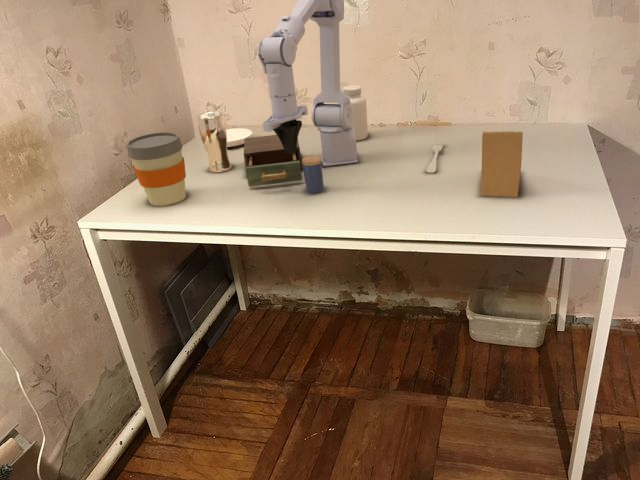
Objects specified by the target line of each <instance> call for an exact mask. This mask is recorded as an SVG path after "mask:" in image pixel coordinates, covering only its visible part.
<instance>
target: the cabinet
mask: <svg viewBox="0 0 640 480" xmlns="http://www.w3.org/2000/svg"><path fill="white" fill-rule="evenodd" d="M300 149H301V147H300V142H299V138H298V139H297V147H296V153H295V154H296V160H297V161H300V168H301V172H304V169H303V163H302V155H301V150H300ZM277 152H285V150H284V148H283V145H282V143H281V141H280V139H279V137H278V136H277V134H270V135H263V136H262V135H261V136H253V137H252V138H245V142H244V144H243V159H244V165H245V168H246V167H249V156H252V155H260V154H269V153H277Z"/></svg>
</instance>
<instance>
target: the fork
mask: <svg viewBox="0 0 640 480" xmlns="http://www.w3.org/2000/svg"><path fill="white" fill-rule="evenodd" d="M443 148H444V144H432V147H431V149H432V151H434V155H433V157H432V160H431V161H430V163H429V164H428V166H427V167H426V173H427V174H435V173H436V171H437V169H438V165H437V163H438V155H439V152H441V151H442V150H443Z"/></svg>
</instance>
